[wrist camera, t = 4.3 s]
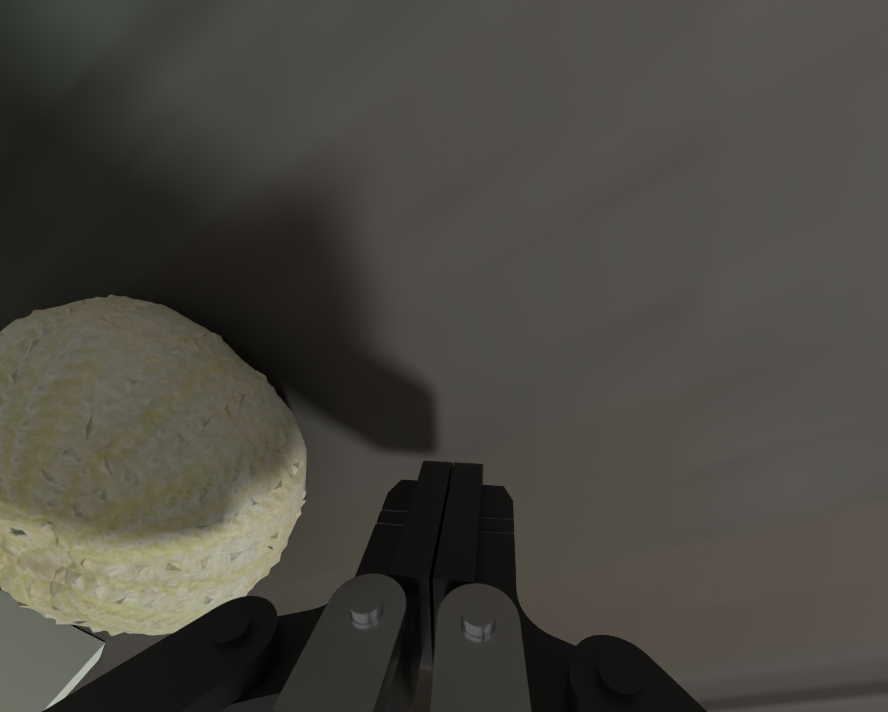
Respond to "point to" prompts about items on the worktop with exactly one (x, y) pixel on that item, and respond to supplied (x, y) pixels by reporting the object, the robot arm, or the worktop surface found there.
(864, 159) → the worktop surface
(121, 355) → the sea urchin shell
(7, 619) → the flared u-shaped rail
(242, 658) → the robot arm
